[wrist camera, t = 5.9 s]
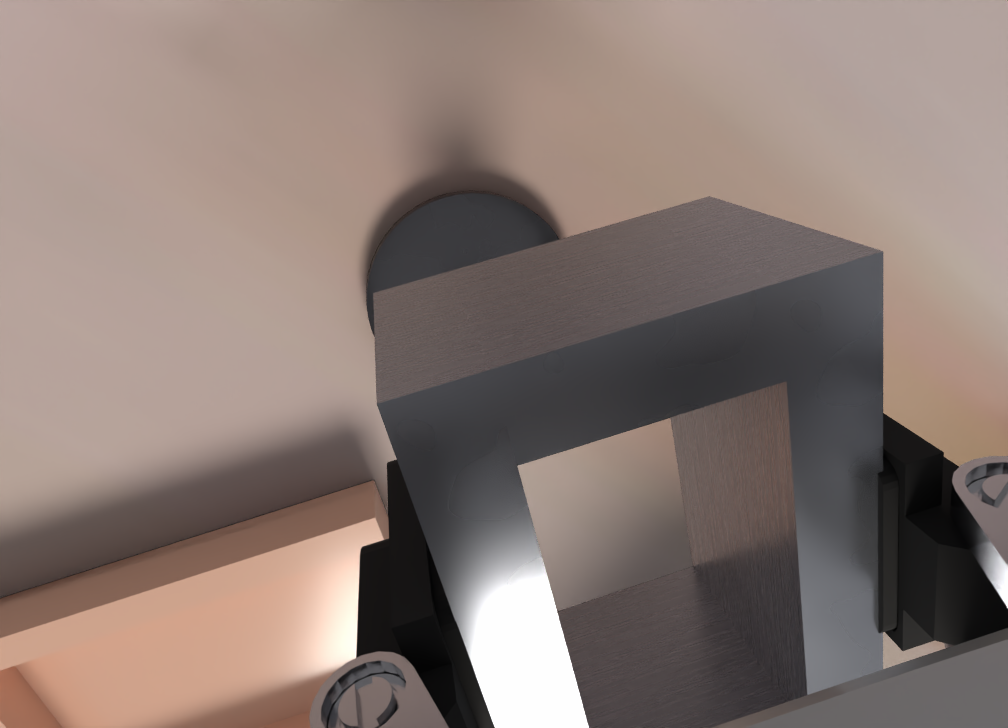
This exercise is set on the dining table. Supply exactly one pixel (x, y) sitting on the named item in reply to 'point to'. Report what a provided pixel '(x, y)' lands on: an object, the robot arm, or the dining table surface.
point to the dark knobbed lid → (452, 238)
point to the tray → (196, 626)
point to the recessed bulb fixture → (699, 449)
